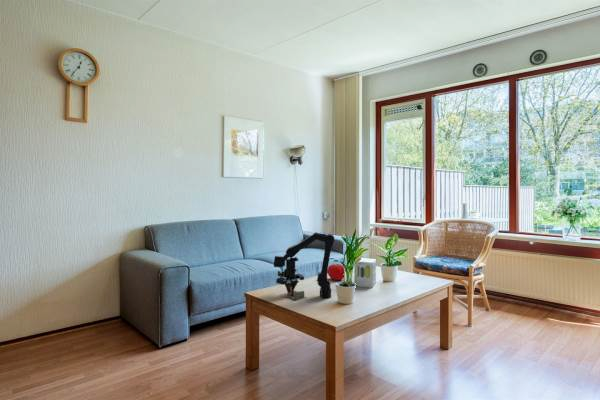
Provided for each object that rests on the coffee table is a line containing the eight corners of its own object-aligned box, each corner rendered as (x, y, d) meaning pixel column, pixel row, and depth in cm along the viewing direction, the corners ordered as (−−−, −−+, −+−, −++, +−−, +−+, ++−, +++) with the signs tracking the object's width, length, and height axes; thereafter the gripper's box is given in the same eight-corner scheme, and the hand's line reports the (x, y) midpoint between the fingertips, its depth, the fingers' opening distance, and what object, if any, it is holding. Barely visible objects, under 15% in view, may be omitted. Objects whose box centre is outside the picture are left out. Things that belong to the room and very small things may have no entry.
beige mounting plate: (307, 298, 221) (307, 290, 221) (295, 302, 214) (295, 294, 214) (290, 293, 232) (290, 285, 231) (279, 296, 225) (279, 288, 224)
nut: (300, 297, 221) (300, 291, 221) (296, 298, 218) (296, 293, 218) (296, 296, 223) (296, 290, 223) (292, 297, 221) (292, 291, 221)
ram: (297, 295, 224) (297, 286, 224) (291, 297, 220) (291, 287, 220) (291, 293, 227) (291, 284, 227) (285, 295, 224) (285, 285, 224)
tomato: (342, 282, 259) (342, 266, 258) (324, 280, 264) (324, 264, 264) (347, 278, 270) (347, 263, 269) (330, 276, 275) (330, 261, 275)
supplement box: (353, 285, 251) (354, 260, 250) (357, 281, 263) (357, 257, 263) (372, 288, 246) (373, 262, 246) (375, 283, 259) (376, 258, 258)
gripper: (292, 263, 236) (292, 287, 237) (270, 267, 223) (270, 292, 224) (304, 266, 228) (304, 290, 229) (282, 271, 215) (282, 296, 216)
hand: (290, 292), depth 225 cm, fingers closed on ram, 2 cm apart
